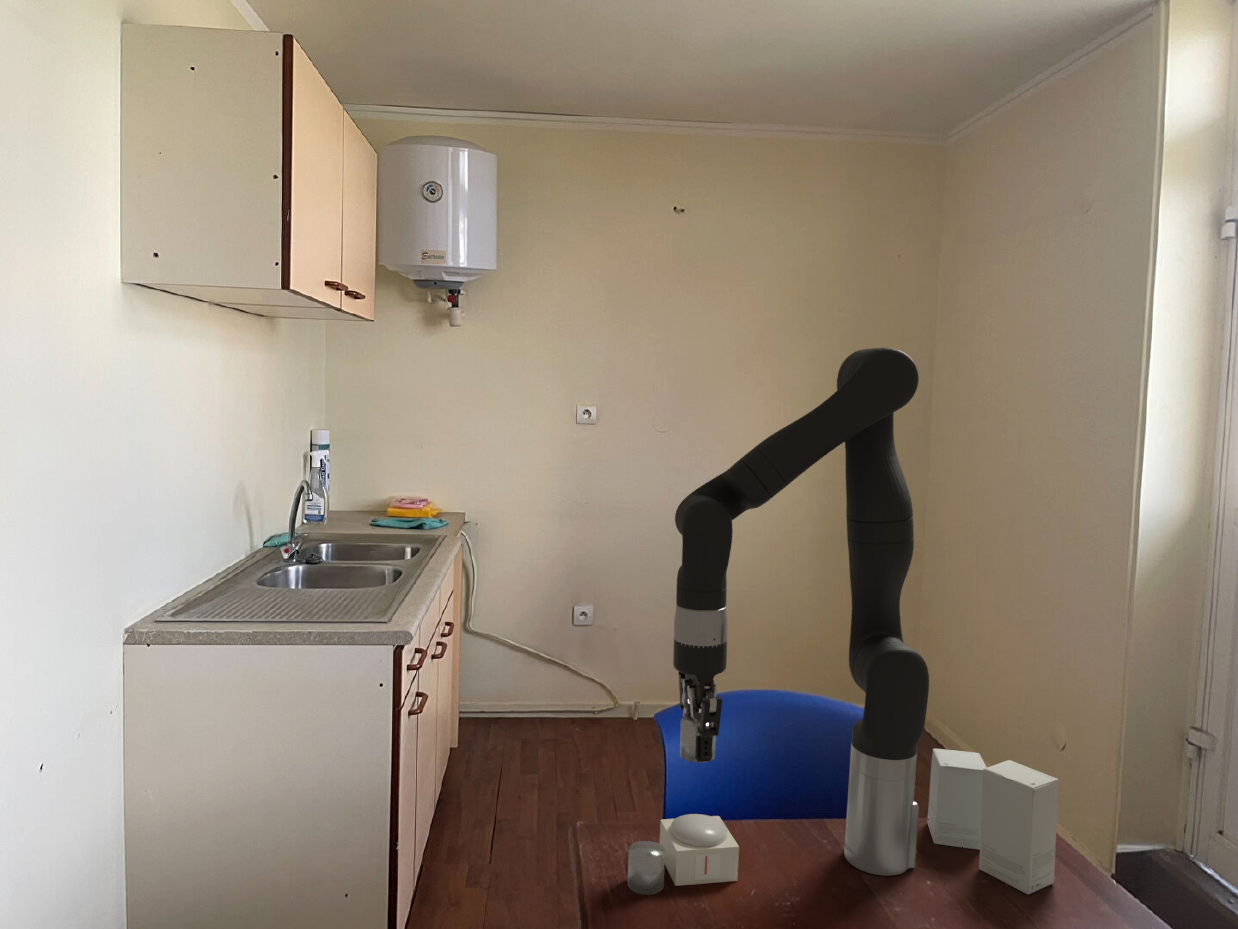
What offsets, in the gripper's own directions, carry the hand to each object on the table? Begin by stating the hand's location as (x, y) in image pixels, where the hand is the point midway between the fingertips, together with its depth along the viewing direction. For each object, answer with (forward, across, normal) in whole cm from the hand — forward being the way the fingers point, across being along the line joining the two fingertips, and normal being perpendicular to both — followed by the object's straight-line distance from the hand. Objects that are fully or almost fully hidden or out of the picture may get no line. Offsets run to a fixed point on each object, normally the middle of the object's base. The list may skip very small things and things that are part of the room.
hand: (697, 752), depth 127 cm
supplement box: (+18, +3, -43) cm, 47 cm away
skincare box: (+18, -9, -45) cm, 49 cm away
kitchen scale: (+17, -1, 0) cm, 17 cm away
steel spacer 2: (0, 0, 0) cm, 0 cm away
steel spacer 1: (+17, -4, +8) cm, 19 cm away
